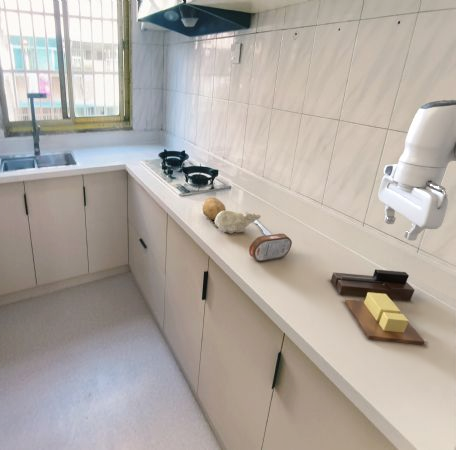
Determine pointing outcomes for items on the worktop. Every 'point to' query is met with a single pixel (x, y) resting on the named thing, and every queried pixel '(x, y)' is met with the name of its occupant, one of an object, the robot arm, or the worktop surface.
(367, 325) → the board
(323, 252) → the worktop surface
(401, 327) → the butter pat
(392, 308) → the butter
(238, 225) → the cream lumpy tapered piece
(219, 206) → the potato
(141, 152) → the worktop surface
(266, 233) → the butter knife
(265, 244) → the tin
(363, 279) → the knife
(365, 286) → the knife stand
